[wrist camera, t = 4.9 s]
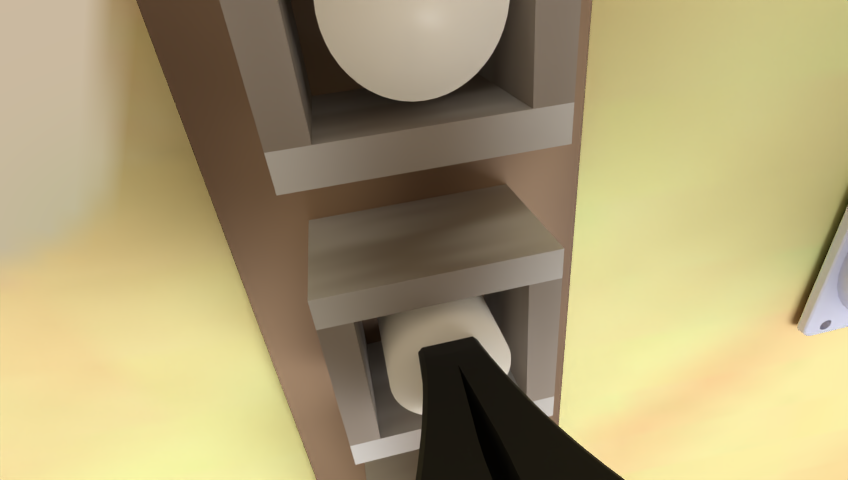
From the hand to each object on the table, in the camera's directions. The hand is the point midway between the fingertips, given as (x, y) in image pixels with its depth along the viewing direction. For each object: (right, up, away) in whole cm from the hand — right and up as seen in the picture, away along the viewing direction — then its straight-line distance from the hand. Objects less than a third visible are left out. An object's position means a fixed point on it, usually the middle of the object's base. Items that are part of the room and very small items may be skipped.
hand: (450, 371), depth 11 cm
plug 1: (-1, +8, -1) cm, 9 cm away
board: (-1, +2, +4) cm, 4 cm away
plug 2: (-1, +2, +3) cm, 3 cm away
